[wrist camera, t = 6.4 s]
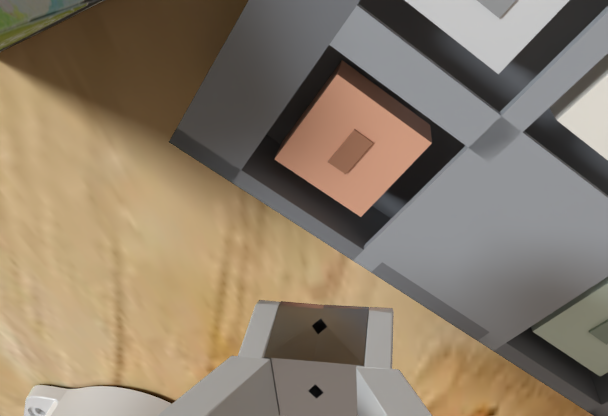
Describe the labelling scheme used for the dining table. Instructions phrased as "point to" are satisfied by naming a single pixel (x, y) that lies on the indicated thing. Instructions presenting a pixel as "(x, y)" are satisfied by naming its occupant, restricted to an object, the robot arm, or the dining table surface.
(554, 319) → the key sage
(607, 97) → the key cream
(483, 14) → the key grey
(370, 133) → the key terracotta
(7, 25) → the tea box
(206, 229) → the dining table surface
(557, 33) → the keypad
